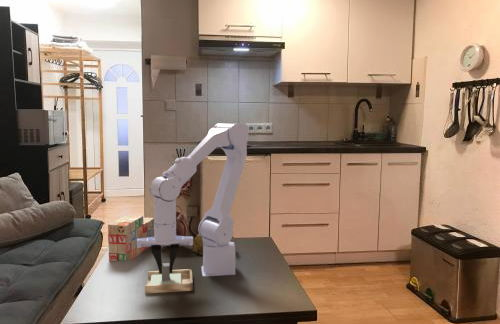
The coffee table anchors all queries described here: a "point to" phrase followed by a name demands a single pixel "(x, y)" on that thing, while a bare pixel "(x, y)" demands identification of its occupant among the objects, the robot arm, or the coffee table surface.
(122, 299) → the coffee table surface
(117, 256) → the stack of blocks
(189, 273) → the box
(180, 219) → the alarm clock
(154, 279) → the cover plate
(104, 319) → the coffee table surface
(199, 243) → the seashell
